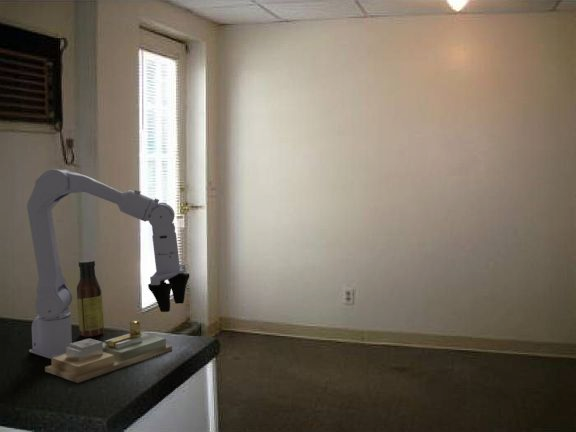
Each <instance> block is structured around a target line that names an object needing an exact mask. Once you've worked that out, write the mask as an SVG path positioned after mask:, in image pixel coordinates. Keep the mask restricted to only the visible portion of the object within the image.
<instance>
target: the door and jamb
mask: <svg viewBox="0 0 576 432" xmlns="http://www.w3.org/2000/svg"><path fill="white" fill-rule="evenodd" d="M141 334H142V342H140V343H137V344H134V345H130V346H127V347H124V348H121V349H115V347H112V346H108V347H107V346H105V341H102V342H103V354H102V355H99V356H96V357H92V358H89V359H86V360H83V361H80V362H79V361H76V360H73V359H70V358H67V357H66V353H65V354H62V355H59V356H55V357H52V358H51V365H47V366H44V372H45V373H48V374H52V375H55V376H57V377H59V378H63V379H65V380H68V381H71V382H74V383H77V384H79V383H81V382H82V383H83V382H85V381H87V380H90V379H93V378H96V377H99V376H102V375H105V374H108V373H110V372H113V371H117V370H119V369H122V368H125V367H128V366H131V365H134V364H136V363H139V362H142V361H145V360H148V359H151V358H154V357H156V355H157V356H160V355H162V353H163V354H165V352H166V353H168V352H171V351H173V346H172V345H168V344H167V341H166V339H167V338H165V337H161V336H158V335H153V334H149V333H145V332H141ZM159 354H160V355H159ZM153 356H154V357H153Z"/></svg>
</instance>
